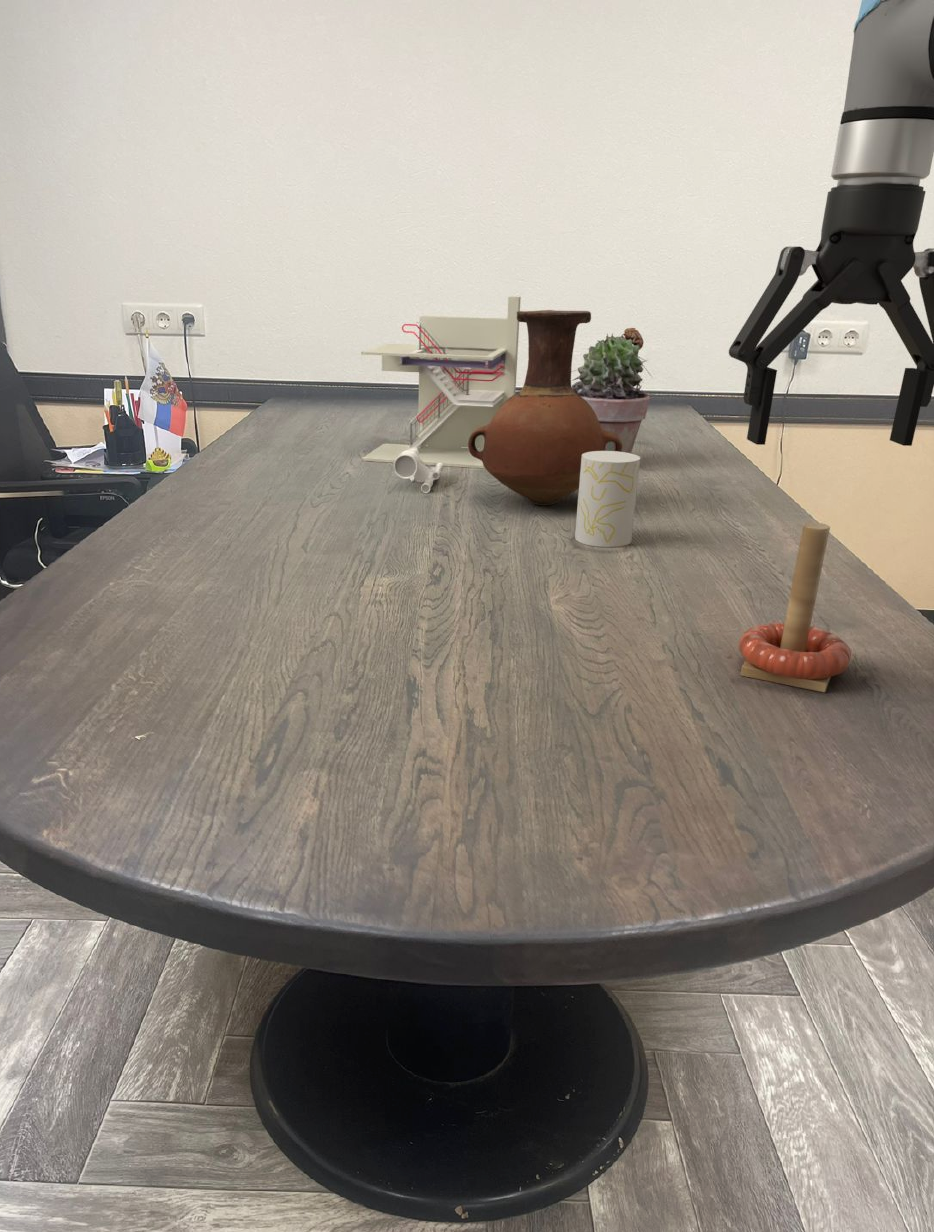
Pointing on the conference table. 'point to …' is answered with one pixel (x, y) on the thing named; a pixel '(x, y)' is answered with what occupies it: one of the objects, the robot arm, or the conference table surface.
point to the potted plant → (615, 386)
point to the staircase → (454, 383)
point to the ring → (795, 653)
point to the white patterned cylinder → (607, 498)
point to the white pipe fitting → (416, 469)
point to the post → (800, 605)
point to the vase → (543, 417)
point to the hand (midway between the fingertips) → (828, 443)
